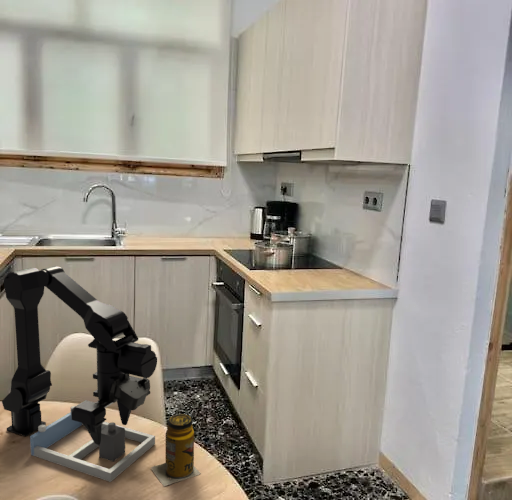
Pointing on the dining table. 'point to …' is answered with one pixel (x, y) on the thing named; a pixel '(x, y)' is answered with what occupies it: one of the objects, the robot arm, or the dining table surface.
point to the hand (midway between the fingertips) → (111, 434)
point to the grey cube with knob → (112, 442)
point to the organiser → (84, 448)
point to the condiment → (178, 451)
